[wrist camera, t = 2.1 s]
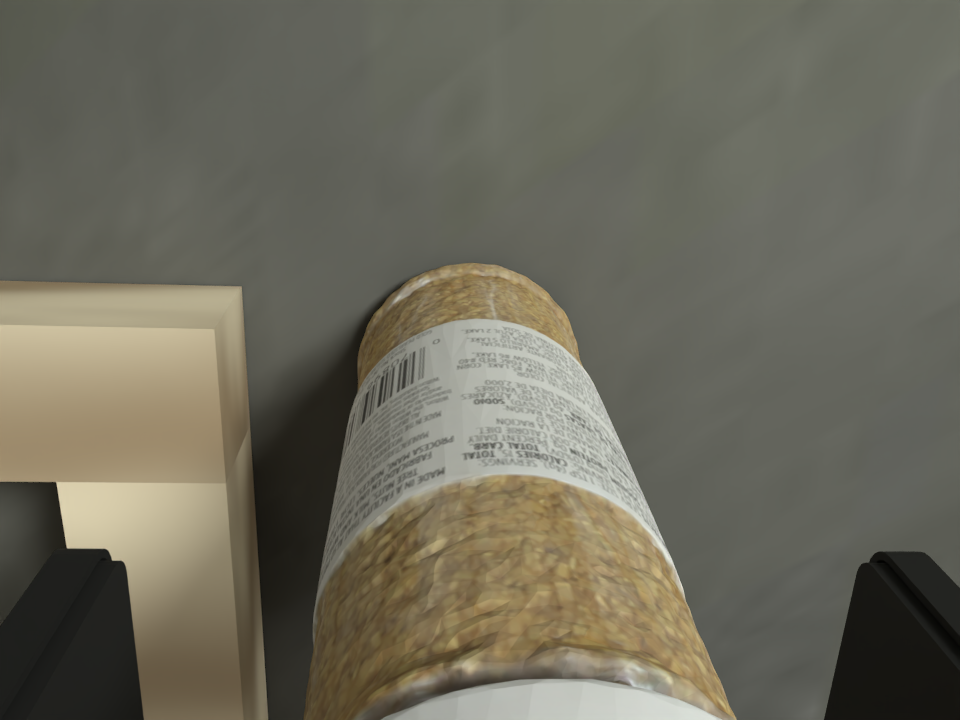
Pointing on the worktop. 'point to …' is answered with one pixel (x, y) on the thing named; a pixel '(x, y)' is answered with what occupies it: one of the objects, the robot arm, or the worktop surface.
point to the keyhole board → (148, 469)
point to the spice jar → (493, 529)
